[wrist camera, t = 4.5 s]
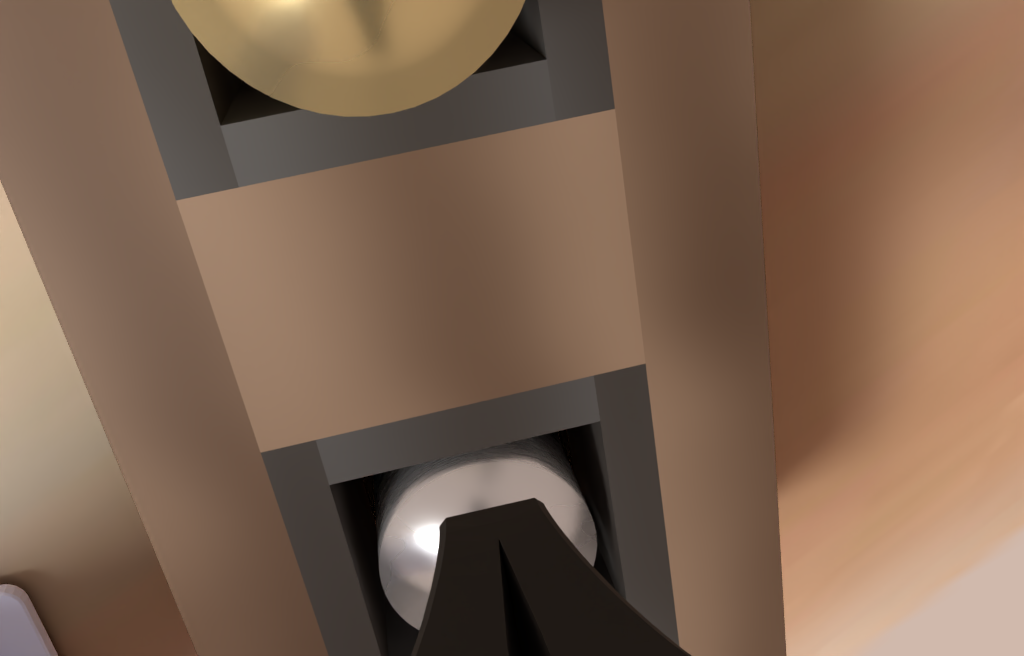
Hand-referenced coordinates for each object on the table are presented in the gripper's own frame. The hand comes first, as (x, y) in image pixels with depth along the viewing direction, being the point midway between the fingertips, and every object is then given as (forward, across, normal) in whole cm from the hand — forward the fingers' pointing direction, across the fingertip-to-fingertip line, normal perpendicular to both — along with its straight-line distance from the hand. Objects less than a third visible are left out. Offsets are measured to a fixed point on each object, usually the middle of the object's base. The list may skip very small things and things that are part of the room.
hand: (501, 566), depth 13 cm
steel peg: (+10, 0, +4) cm, 11 cm away
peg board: (+10, 0, -2) cm, 10 cm away
